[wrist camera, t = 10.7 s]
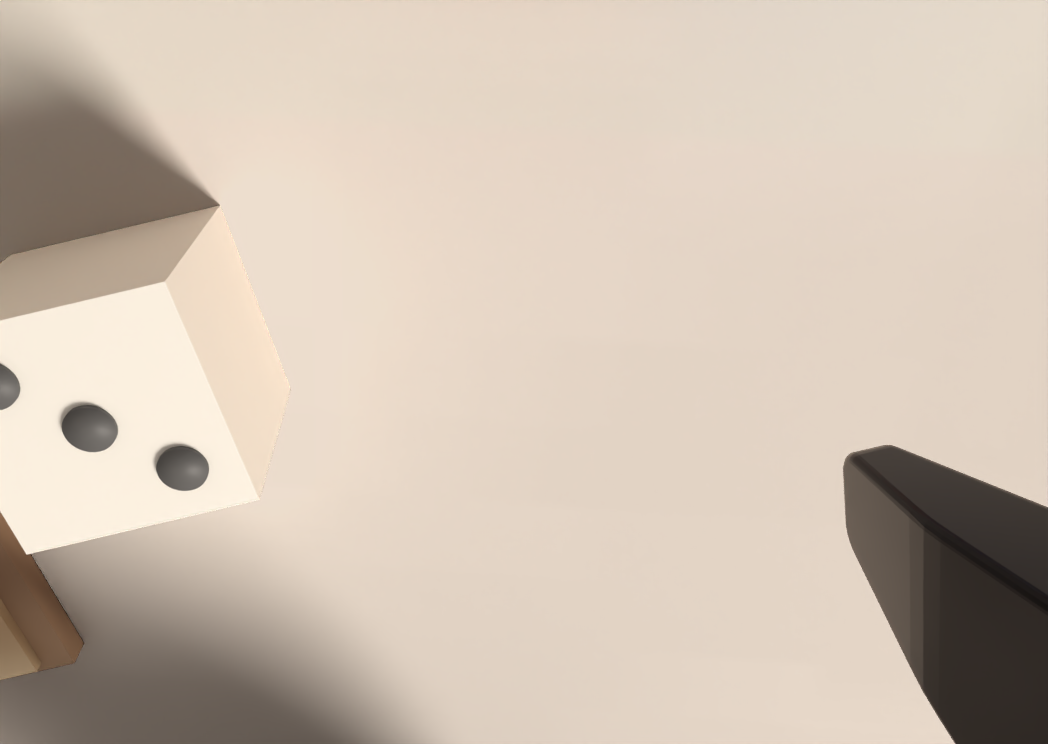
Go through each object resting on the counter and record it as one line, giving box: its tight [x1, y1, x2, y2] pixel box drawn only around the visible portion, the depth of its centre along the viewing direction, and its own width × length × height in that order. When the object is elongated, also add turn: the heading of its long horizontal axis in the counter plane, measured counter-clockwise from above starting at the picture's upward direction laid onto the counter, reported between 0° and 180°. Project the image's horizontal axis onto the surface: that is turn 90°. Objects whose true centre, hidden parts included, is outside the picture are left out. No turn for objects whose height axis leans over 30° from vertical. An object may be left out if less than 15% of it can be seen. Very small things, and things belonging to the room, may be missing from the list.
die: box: [0, 205, 291, 555], centre depth 17 cm, size 4×4×5 cm
